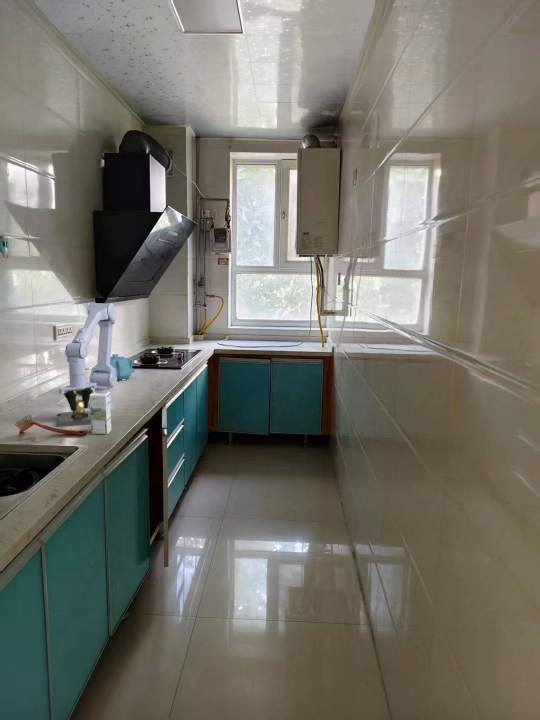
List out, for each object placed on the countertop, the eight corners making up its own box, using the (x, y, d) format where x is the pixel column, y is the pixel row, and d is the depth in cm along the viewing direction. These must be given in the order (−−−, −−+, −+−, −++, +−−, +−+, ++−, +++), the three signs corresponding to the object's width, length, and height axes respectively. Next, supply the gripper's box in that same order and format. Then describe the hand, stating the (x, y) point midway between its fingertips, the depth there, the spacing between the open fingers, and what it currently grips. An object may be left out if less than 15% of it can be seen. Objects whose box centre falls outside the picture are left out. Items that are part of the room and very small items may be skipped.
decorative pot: (112, 375, 285) (111, 351, 283) (137, 377, 280) (136, 353, 278) (93, 381, 270) (92, 355, 268) (119, 383, 265) (118, 357, 263)
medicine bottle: (75, 394, 240) (74, 369, 238) (89, 391, 245) (88, 367, 243) (83, 396, 235) (81, 371, 233) (97, 394, 240) (96, 369, 238)
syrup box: (111, 430, 185) (110, 390, 183) (107, 434, 179) (105, 394, 177) (95, 429, 185) (94, 390, 182) (90, 434, 179) (89, 394, 177)
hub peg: (70, 416, 195) (69, 401, 194) (80, 414, 198) (80, 399, 197) (77, 418, 192) (76, 402, 191) (87, 416, 196) (86, 400, 195)
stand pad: (57, 413, 205) (57, 413, 205) (73, 412, 207) (73, 412, 207) (56, 417, 200) (56, 416, 200) (72, 416, 202) (72, 415, 202)
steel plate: (61, 417, 200) (61, 412, 200) (99, 415, 204) (99, 410, 204) (58, 427, 187) (58, 422, 186) (98, 424, 191) (98, 419, 191)
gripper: (88, 370, 201) (90, 404, 203) (53, 375, 189) (55, 410, 192) (99, 372, 196) (100, 406, 198) (63, 378, 185) (65, 414, 187)
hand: (79, 409), depth 195 cm, fingers closed on hub peg, 4 cm apart
